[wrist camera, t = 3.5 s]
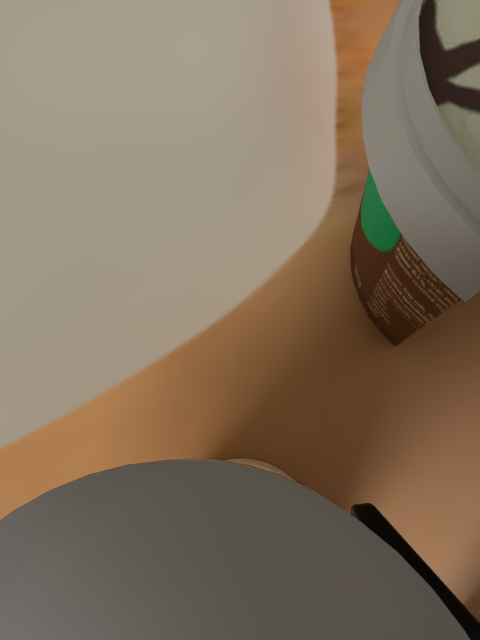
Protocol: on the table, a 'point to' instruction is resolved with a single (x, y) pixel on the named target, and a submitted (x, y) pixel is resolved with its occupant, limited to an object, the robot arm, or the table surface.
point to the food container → (420, 168)
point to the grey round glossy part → (205, 562)
